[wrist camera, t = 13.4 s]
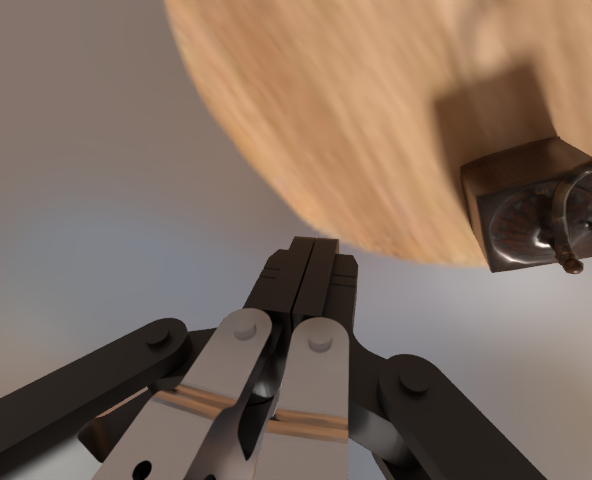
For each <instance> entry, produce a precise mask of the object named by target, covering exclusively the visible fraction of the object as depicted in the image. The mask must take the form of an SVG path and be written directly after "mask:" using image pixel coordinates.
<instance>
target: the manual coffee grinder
mask: <svg viewBox="0 0 592 480" xmlns="http://www.w3.org/2000/svg"><path fill="white" fill-rule="evenodd" d="M460 170H461V183H462V188H463V193H464V198H465V202H466V207H467V211H468V215H469V218H470V222H471V226H472V230H473V234H474V235H475V237H476V239H477V241H478V243H479V245H480V248H481V250H482V252H483V254H484V257H485V259H486V261H487V263H488V265H489V268H490V271H491V272H492V273H494V272H502V271H510V270H516V269H522V268H528V267H534V266H540V265H546V264H552V263H559V264H560V265H562V266H563V268H564V270H565V271H566V272H567V273H570V274H578V273H580V272H582V271H583V263H582V262H580V261H578V259H583V258H588V257H592V157H591V156H589V155H587V154H586V153H584V152H582V151H580V150H579V149H577V148H575V147H573V146H571V145H570V144H568V143H566V142H564V141H563V140H561V139H560V137H554V138H549V139H544V140H540V141H535V142H530V143H527V144H524V145H521V146H517V147H514V148H511V149H507V150H504V151H501V152H498V153H494V154H491V155H488V156H485V157H482V158H480V159H478V160H476V161H473V162H471V163H469V164H466V165H464V166H462V167H460Z"/></svg>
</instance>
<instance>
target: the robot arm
mask: <svg viewBox="0 0 592 480" xmlns="http://www.w3.org/2000/svg"><path fill="white" fill-rule="evenodd" d="M357 277H358V264H357V262H356V260H355V259H354V257H353V255H344V254H339V239H327V238H317V239H316V238H312V237H311V238H310V237H298V236H297V237H296V236H295V237H294V239H293V241H292V243H291V246H290V248H289V250H282V249H279V250H278V251H276V252H275V253H274V254H273V255H271V256H270V257H269V259H268V260H267V262H266V264H265V266H264V270H262V272H261V274H260V277H259V278H258V280H257V281H256V283H255V285H254V287H253V289H252V291H251V293H250V295H249V297H248V299H247V301H246V303H245V305H244V307H243V308H242V309H240V310H237V311H235V312H233V313H231V314H229V315H228V316H227V317H226V318H224V319H223V321H222V322H221V323H220V325H219V326H218V327H217V328H212V329H205V330H198V331H190V332H188V331H187V328H186V326H185V324H184V323H183V322H182V321H180V320H178V319H175V318H164V319H159V320H156V321H153V322H151V323H149V324H147V325H145V326H143V327H141V328H139V329H137V330H135V331H133V332H131V333H129V334H128V335H125V336H123V337H121V338H119V339H117V340H115V341H113V342H111V343H109V344H107V345H105V346H104V347H101V348H100V349H97V350H95V351H94V352H92V353H90V354H88V355H86V356H84V357H82V358H80V359H78V360H76V361H74V362H72V363H70V364H68V365H66V366H64V367H62V368H60V369H58V370H56V371H54V372H52V373H50V374H48V375H46V376H44V377H42V378H40V379H38V380H36V381H34V382H32V383H30V384H28V385H26V386H24V387H22V388H20V389H18V390H16V391H14V392H12V393H10V394H8V395H6V396H4V397H2V398H0V480H252V478H253V471H254V467H255V463H256V460H257V457H258V455H259V458H258V462H257V467H256V471H255V476H254V480H348V437H349V438H350V439H352V440H354V441H355V442H357V443H358V444H360V445H362V446H363V447H365V448H366V449H368V450H370V451H371V452H372V455H373V457H374V459H375V461H376V463H377V465H378V466H379V468H380V470H381V471H382V473H383V475H384V476H385V478H386V480H547V479H546V478H545V477H544V476H543V475H542V474H541V473H540V472H539V471H538V470H537V469H536V468H535V467H534V466H533V465H532V464H531V462H529V460H528V459H526V457H524V455H523V454H522V453H521V452H520V451H519V450H518V449H517V448H516V447H515V446H514V445H513V444H512V443H511V442H510V441H509V440H508V439H507V438H506V437H505V436H504V435H503V434H502V433H501V432H500V431H499V430H498V429H497V428H496V427H495V426H494V425H493V424H492V423H491V422H490V421H489V420H488V419H487V418H486V417H485V416H484V415H483V414H482V413H481V412H480V411H479V410H478V409H477V408H476V407H475V405H474V404H473V403H472V402H471V401H470V400H469V399H468V398H467V397H466V396H465V395H464V394H463V393H462V392H461V391H460V390H459V389H458V388H457V387H456V386H455V385H454V384H453V383H451V381H450V380H449V379H448V378H447V377H446V376H445V375H444V374H443V373H442V372H441V371H440V370H439V369H438V368H437V367H436V366H435V365H433V364H432V363H431V362H429V361H427V360H425V359H424V358H421V357H419V356H415V355H410V354H400V355H395V356H392V357H390V358H389V359H385V358H382V357H380V356H378V355H376V354H374V353H372V352H370V351H368V350H367V349H365V348H364V347H363V346H362V345H361V344H360V343H359V342H358V341H357V340H356V338H355V336H354V334H353V326H354V316H355V306H356V294H357ZM283 375H284V376H283ZM282 379H283V380H282ZM281 382H282V385H281ZM146 386H147V387H148V390H147V391H145V392H143V393H142V394H140V395H138V396H137V397H135V398H134V399H132V400H130V401H128V402H127V403H125V404H124V405H122V406H120V407H119V408H117V409H115V410H114V411H112V412H110V413H109V414H107V415H105V416H102V417H98V418H95V417H97V416H98V415H100V414H101V413H103V412H105V411H107V410H108V409H110V408H112V407H113V406H115V405H116V404H118V403H120V402H121V401H123V400H125V399H126V398H128V397H130V396H131V395H133V394H135V393H136V392H138V391H139V390H141V389H143V388H145V387H146ZM277 403H278V404H277ZM276 406H277V409H276V412H275V415H274V417H273V414H274V411H275V408H276ZM259 452H260V454H259Z"/></svg>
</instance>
